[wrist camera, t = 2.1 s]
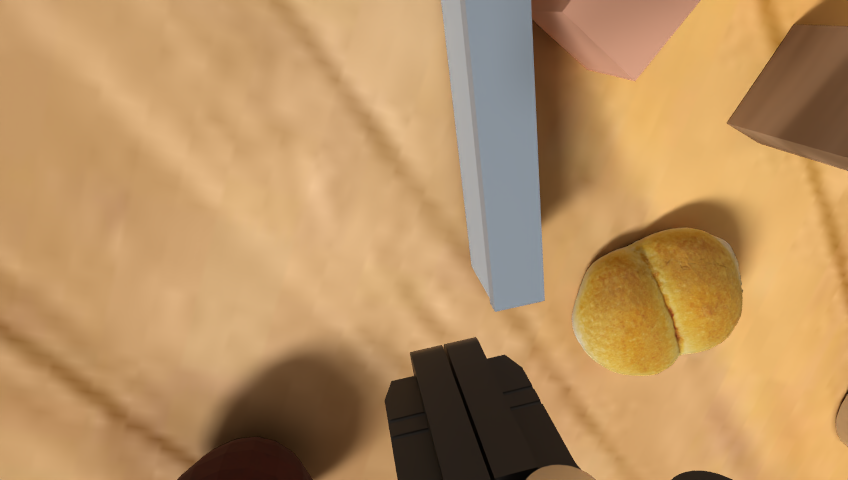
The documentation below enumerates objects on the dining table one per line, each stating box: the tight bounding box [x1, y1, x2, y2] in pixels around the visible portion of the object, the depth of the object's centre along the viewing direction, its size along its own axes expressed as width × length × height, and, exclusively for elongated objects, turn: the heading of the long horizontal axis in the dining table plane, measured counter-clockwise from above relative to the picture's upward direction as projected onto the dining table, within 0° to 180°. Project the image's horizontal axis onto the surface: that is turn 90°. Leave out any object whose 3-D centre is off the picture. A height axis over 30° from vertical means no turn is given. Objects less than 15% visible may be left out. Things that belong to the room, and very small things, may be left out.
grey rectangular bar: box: [441, 0, 545, 312], centre depth 21 cm, size 14×2×4 cm, turn 8°
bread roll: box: [572, 227, 743, 376], centre depth 27 cm, size 8×9×4 cm
